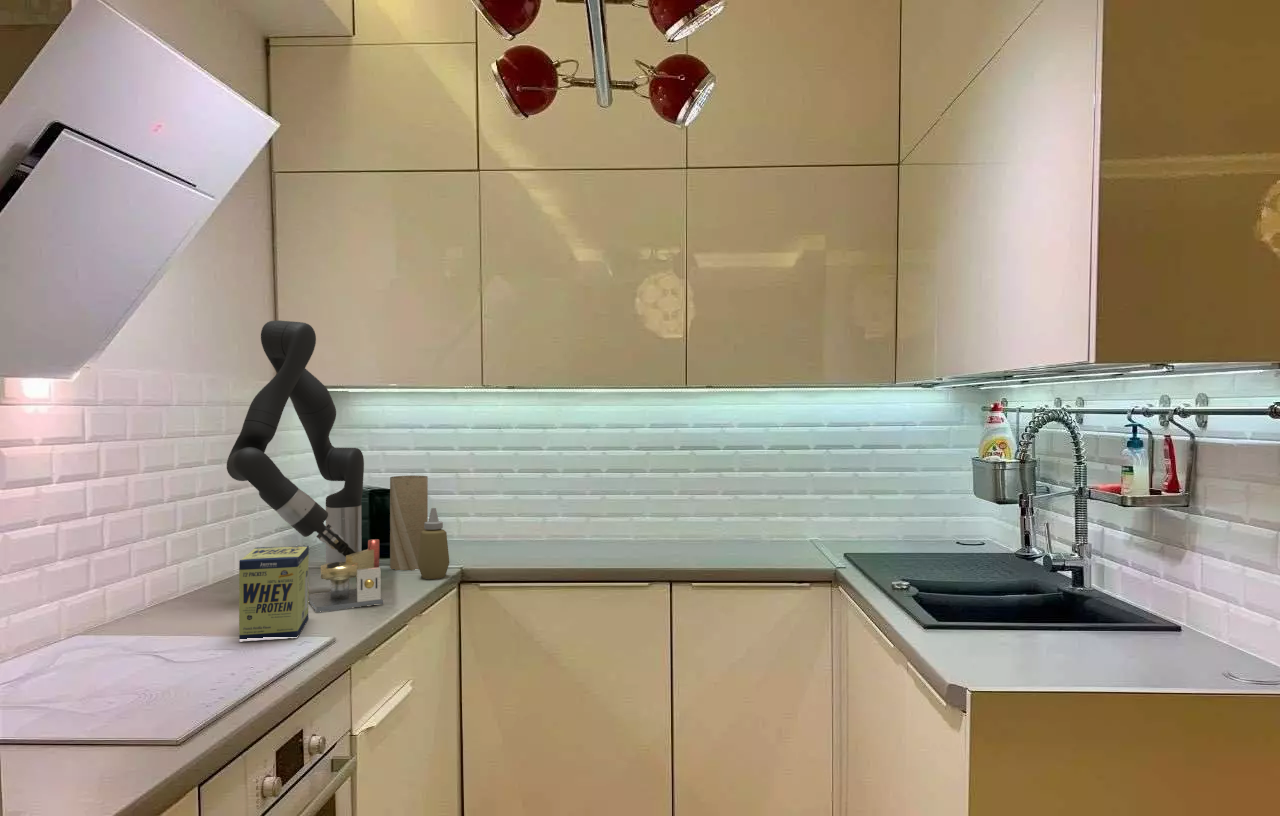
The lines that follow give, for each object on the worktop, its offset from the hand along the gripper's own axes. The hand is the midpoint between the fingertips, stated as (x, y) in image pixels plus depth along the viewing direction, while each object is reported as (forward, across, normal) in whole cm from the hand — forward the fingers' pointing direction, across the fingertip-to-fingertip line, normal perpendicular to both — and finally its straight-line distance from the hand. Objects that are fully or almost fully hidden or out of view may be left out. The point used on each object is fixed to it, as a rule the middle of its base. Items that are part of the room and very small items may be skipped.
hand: (356, 559), depth 192 cm
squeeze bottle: (+20, +6, -9) cm, 22 cm away
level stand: (+2, -10, +9) cm, 14 cm away
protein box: (-9, -27, +20) cm, 35 cm away
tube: (+18, +23, -8) cm, 30 cm away
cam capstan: (0, -7, +3) cm, 7 cm away
